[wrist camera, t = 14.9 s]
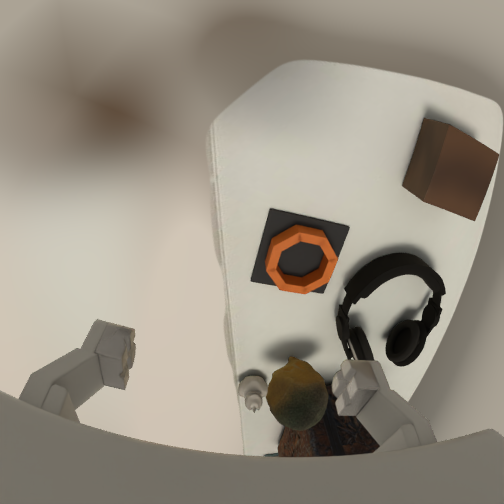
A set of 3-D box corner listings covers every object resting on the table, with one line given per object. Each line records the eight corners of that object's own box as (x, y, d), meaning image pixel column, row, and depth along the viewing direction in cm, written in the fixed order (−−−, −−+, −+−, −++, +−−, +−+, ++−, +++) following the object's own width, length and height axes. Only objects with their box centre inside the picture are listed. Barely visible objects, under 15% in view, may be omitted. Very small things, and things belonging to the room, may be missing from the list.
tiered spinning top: (269, 370, 54) (272, 406, 47) (265, 391, 57) (267, 424, 50) (239, 369, 54) (239, 405, 47) (237, 390, 57) (237, 424, 50)
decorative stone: (317, 340, 51) (335, 413, 38) (318, 363, 54) (333, 432, 41) (260, 349, 52) (265, 424, 38) (266, 371, 54) (271, 442, 41)
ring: (276, 219, 40) (278, 227, 38) (340, 233, 41) (345, 242, 39) (260, 277, 44) (261, 287, 42) (319, 287, 45) (322, 297, 43)
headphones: (336, 387, 45) (354, 275, 37) (326, 356, 52) (337, 251, 45) (430, 369, 45) (463, 265, 38) (413, 343, 52) (436, 245, 45)
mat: (270, 208, 39) (270, 209, 39) (349, 226, 41) (349, 227, 40) (250, 280, 45) (250, 281, 44) (322, 292, 46) (323, 293, 46)
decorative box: (375, 368, 57) (280, 386, 55) (414, 449, 40) (304, 481, 38) (343, 435, 73) (272, 448, 70) (364, 496, 55) (286, 515, 53)
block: (423, 117, 33) (449, 124, 28) (473, 144, 35) (499, 154, 29) (401, 185, 38) (423, 201, 33) (452, 204, 39) (474, 221, 34)
